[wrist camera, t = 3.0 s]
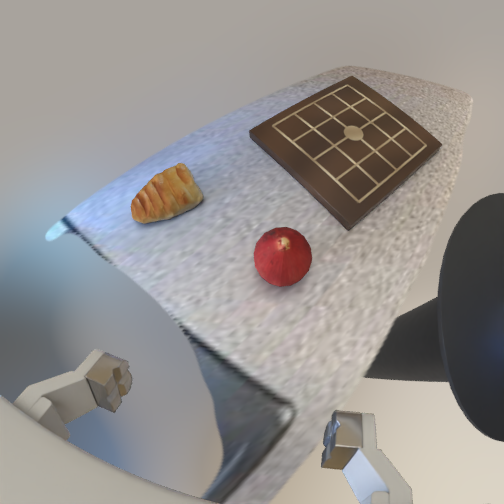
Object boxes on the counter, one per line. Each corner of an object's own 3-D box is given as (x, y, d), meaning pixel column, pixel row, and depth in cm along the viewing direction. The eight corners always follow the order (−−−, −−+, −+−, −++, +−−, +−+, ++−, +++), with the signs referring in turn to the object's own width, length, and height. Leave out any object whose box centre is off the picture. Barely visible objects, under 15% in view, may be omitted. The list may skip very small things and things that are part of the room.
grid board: (438, 150, 39) (442, 143, 38) (348, 230, 36) (350, 224, 34) (350, 81, 45) (352, 74, 44) (249, 137, 42) (248, 129, 40)
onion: (247, 258, 35) (239, 227, 28) (291, 235, 36) (295, 200, 28) (271, 302, 33) (269, 283, 26) (317, 278, 34) (328, 252, 26)
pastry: (144, 239, 37) (132, 226, 34) (128, 202, 40) (116, 187, 36) (209, 201, 38) (202, 185, 35) (187, 167, 41) (180, 150, 37)
